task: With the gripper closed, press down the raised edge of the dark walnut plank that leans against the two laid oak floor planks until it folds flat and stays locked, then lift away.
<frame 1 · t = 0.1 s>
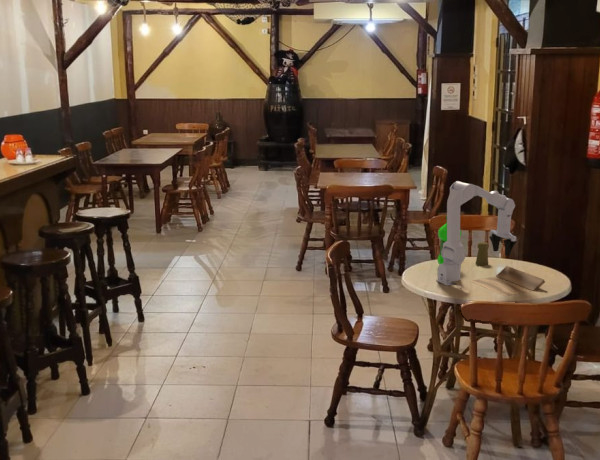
hand: (501, 253, 303), 10 cm above the table, tool pointing down, fingers open, 7 cm apart
olive tapered tower: (481, 264, 320), on the table
plastic bottle: (447, 268, 315), on the table
loose plank: (519, 278, 288), point 3 cm above the table, hinge at 35.0°
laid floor: (499, 289, 284), on the table
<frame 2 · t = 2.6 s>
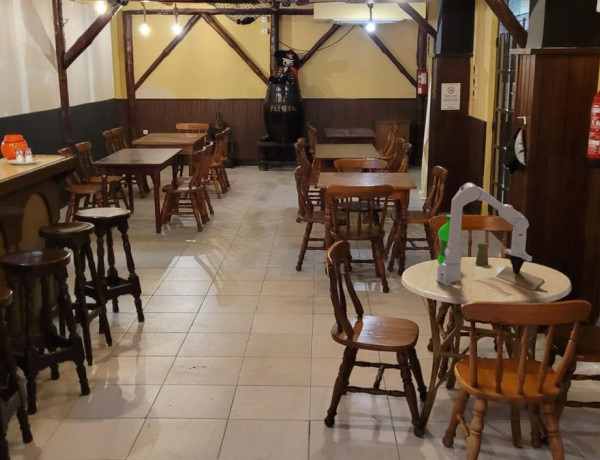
hand: (516, 273, 290), 5 cm above the table, tool pointing down, fingers closed, pressing on loose plank
loose plank: (519, 279, 288), point 3 cm above the table, hinge at 34.3°, touching gripper
everything else where it was.
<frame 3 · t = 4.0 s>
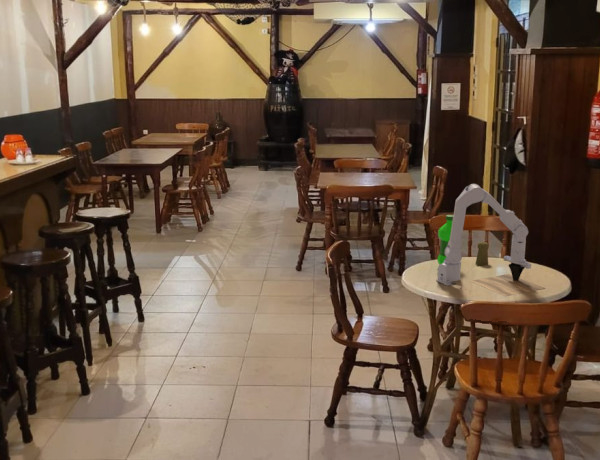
hand: (515, 280, 291), 1 cm above the table, tool pointing down, fingers closed, pressing on loose plank
loose plank: (519, 283, 289), point 1 cm above the table, hinge at 1.3°, touching gripper
everything else where it was.
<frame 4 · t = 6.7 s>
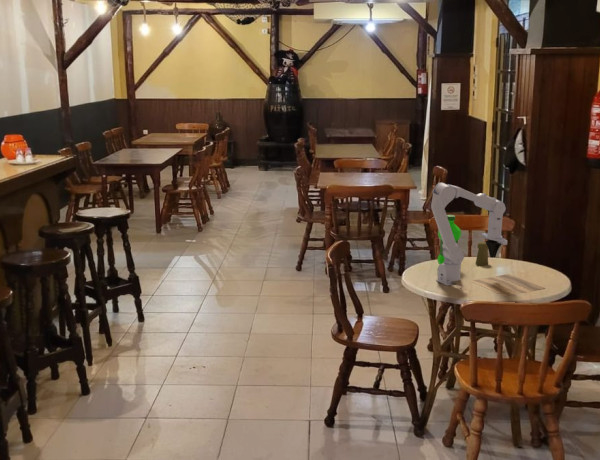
hand: (492, 257, 295), 10 cm above the table, tool pointing down, fingers closed
loose plank: (519, 283, 289), point 1 cm above the table, hinge at 1.2°
everything else where it was.
at the end: loose plank at +1° (first picture: +35°); the gripper is holding nothing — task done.
